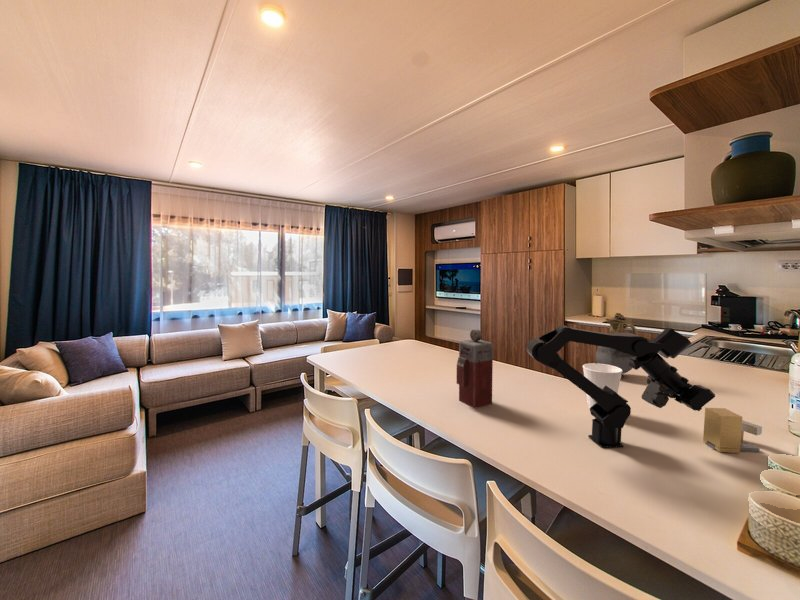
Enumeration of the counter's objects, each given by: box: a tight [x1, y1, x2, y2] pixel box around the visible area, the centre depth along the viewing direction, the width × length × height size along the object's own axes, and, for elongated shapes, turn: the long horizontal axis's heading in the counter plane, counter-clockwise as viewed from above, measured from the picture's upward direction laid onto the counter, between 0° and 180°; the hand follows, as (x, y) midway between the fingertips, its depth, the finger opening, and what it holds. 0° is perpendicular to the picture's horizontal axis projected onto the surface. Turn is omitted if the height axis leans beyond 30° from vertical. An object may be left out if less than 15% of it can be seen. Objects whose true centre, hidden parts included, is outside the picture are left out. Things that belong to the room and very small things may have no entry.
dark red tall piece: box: [456, 328, 494, 409], centre depth 125 cm, size 9×11×28 cm
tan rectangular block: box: [702, 407, 743, 454], centre depth 91 cm, size 5×6×10 cm
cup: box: [582, 362, 623, 412], centre depth 115 cm, size 12×12×16 cm
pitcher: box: [595, 312, 638, 379], centre depth 156 cm, size 11×19×30 cm, turn 102°
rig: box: [707, 419, 763, 453], centre depth 94 cm, size 13×9×6 cm, turn 83°
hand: (699, 409), depth 92 cm, fingers closed
